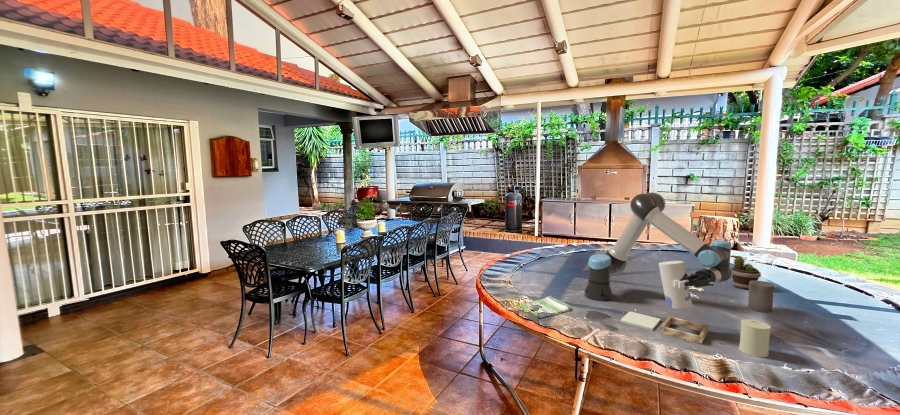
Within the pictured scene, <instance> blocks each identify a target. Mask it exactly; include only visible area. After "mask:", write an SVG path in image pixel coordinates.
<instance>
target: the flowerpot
mask: <svg viewBox="0 0 900 415" xmlns="http://www.w3.org/2000/svg"><path fill="white" fill-rule="evenodd" d="M732 263H733V266H732V267H731V268H732V270H733V276H732V280H731V283H732V285H733V287H735V288H737V289H740V290H747V291H749V282H750V281H759V278H761V276H762V274H761V272H760V270H758V269H757V268H755V267H754V265H752V264H751V263H749V262H747V263H746V259H745V258H744V257H743V256H740V255H738V256H736V257H735V258H734V259H733V261H732Z"/></svg>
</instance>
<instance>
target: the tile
mask: <svg viewBox="0 0 900 415" xmlns="http://www.w3.org/2000/svg"><path fill="white" fill-rule="evenodd" d="M661 321H662V320H661V318H658V317H654V316H651V315H648V314H647V315H646V314H643V313H638V312H635V311H634V312H633V311H628V312H627V313H626V314H625V315H624V316H623V317H621V319H620V320H619V322H620V323H623V324H626V325H629V326H630V325H631V326H634V327H638V328H641V329H645V330H649V331H653V330H655V328H656V327H657V326H658V325H659V324H660V322H661Z"/></svg>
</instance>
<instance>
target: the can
mask: <svg viewBox="0 0 900 415" xmlns="http://www.w3.org/2000/svg"><path fill="white" fill-rule="evenodd" d="M771 328H772V327H771V325H769V323H766V322H763V321H760V320H756V319H752V318H751V319H748V318H747V319H741V321H740V334H739V335H740V336H739V346H738V349H739V351H740V352H743V353H744V354H747V355H749V356H753V357H756V358H767V357H769V349H770V348H769V347H770V338H771V337H770V335H771Z"/></svg>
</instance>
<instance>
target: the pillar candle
mask: <svg viewBox="0 0 900 415" xmlns="http://www.w3.org/2000/svg"><path fill="white" fill-rule="evenodd" d="M774 288H775V286H774V284H773V283H771V282H768V281H763V280H758V281H750V282H749V290H748V298H747V299H748V300H747V301H748V302H747V308H748V309H751V310H752V311H756V312H762V313H771V312H773V305H774Z"/></svg>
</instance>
